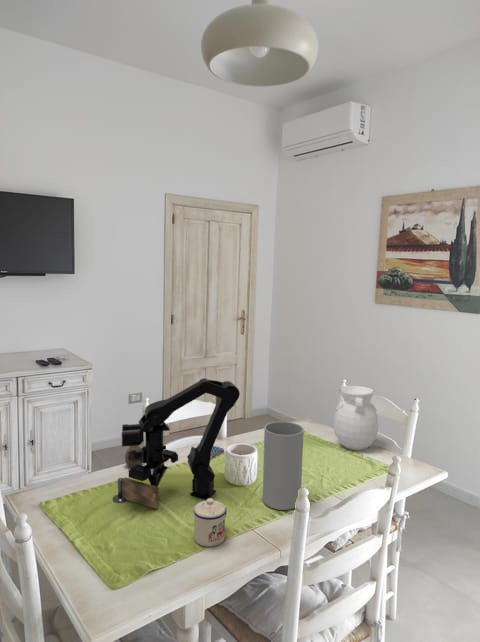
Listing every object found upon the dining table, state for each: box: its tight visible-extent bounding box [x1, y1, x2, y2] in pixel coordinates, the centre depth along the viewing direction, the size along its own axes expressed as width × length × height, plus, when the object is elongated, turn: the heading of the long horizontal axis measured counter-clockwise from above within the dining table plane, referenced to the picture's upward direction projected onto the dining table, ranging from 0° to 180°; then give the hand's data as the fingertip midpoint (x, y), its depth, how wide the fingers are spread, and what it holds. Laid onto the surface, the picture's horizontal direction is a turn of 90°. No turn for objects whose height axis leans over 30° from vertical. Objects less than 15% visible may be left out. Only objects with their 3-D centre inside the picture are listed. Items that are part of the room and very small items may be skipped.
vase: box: [124, 445, 143, 469], centre depth 182 cm, size 7×7×9 cm
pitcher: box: [333, 385, 379, 451], centre depth 205 cm, size 19×18×25 cm
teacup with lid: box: [193, 497, 228, 547], centre depth 138 cm, size 12×9×12 cm
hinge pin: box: [112, 477, 128, 504], centre depth 158 cm, size 5×5×7 cm
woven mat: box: [210, 444, 225, 461], centre depth 196 cm, size 10×11×2 cm
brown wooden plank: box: [122, 477, 160, 509], centre depth 154 cm, size 14×2×6 cm, turn 63°
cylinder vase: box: [262, 421, 305, 511], centre depth 157 cm, size 12×12×25 cm
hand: (154, 489), depth 158 cm, fingers closed
